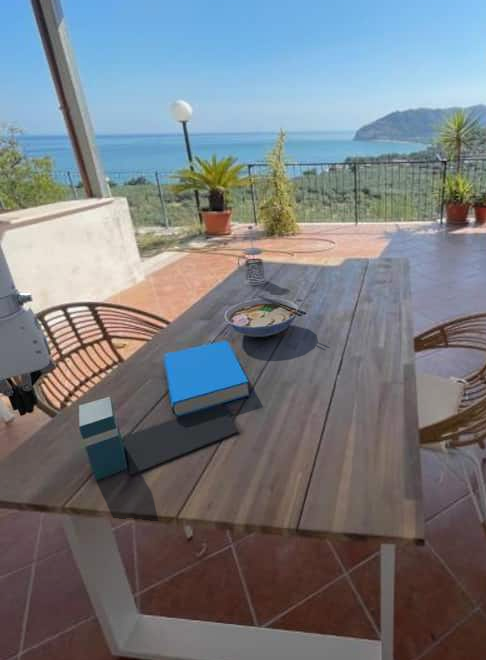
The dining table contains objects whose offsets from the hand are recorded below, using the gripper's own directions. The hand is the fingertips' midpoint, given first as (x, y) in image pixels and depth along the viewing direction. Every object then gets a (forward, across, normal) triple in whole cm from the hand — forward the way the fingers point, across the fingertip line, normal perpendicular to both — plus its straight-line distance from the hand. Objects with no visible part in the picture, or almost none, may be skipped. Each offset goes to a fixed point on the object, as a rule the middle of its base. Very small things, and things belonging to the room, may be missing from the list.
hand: (27, 409), depth 64 cm
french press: (+17, -68, -86) cm, 112 cm away
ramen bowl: (+17, -53, -36) cm, 67 cm away
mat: (+16, -21, 0) cm, 27 cm away
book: (+16, -30, -18) cm, 39 cm away
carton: (+16, -8, 0) cm, 18 cm away
